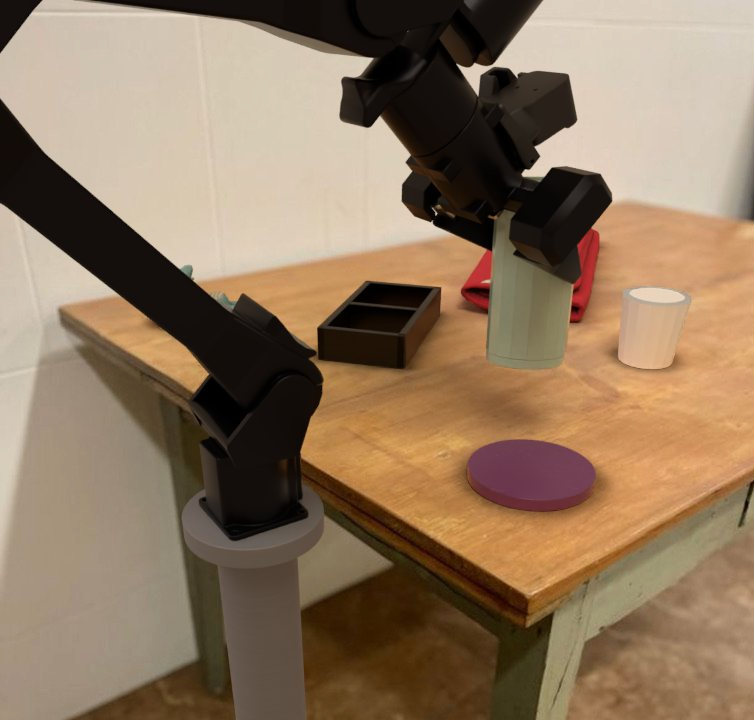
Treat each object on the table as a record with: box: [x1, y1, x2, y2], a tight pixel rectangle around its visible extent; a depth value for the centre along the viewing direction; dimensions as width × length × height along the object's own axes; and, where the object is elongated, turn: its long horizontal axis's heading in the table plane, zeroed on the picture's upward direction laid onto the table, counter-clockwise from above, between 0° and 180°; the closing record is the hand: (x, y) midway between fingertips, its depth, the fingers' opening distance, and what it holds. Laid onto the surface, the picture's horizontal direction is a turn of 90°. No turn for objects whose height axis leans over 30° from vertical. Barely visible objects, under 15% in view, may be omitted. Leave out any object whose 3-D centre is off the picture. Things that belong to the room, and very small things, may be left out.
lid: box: [466, 438, 597, 512], centre depth 64 cm, size 10×10×1 cm
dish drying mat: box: [460, 227, 601, 322], centre depth 114 cm, size 16×41×4 cm, turn 165°
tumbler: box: [485, 175, 574, 371], centre depth 65 cm, size 6×6×14 cm
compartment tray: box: [316, 280, 442, 370], centre depth 91 cm, size 18×9×4 cm, turn 164°
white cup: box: [617, 285, 693, 370], centre depth 85 cm, size 7×7×7 cm
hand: (547, 268), depth 66 cm, fingers closed on tumbler, 7 cm apart
